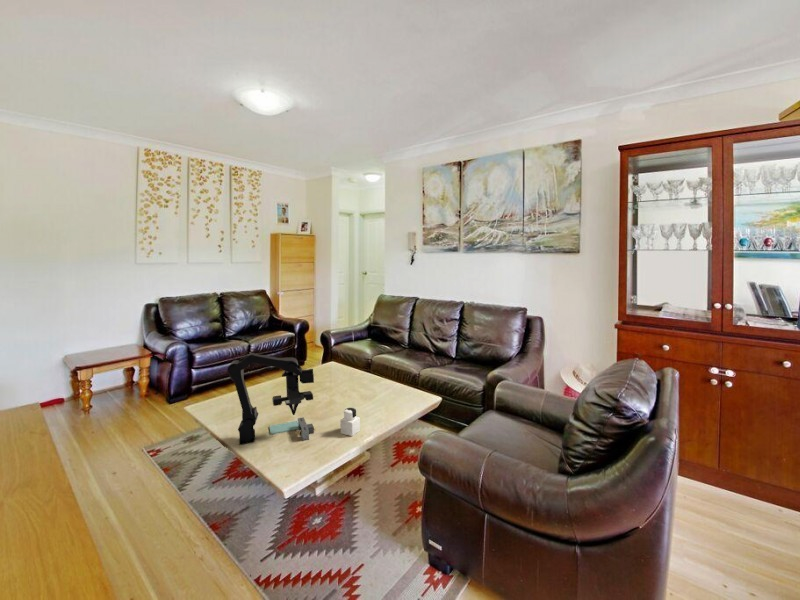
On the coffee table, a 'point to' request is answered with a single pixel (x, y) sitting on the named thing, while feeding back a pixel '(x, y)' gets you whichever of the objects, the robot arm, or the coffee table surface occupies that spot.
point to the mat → (283, 427)
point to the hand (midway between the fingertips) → (293, 414)
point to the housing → (303, 429)
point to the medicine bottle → (350, 422)
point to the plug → (310, 427)
